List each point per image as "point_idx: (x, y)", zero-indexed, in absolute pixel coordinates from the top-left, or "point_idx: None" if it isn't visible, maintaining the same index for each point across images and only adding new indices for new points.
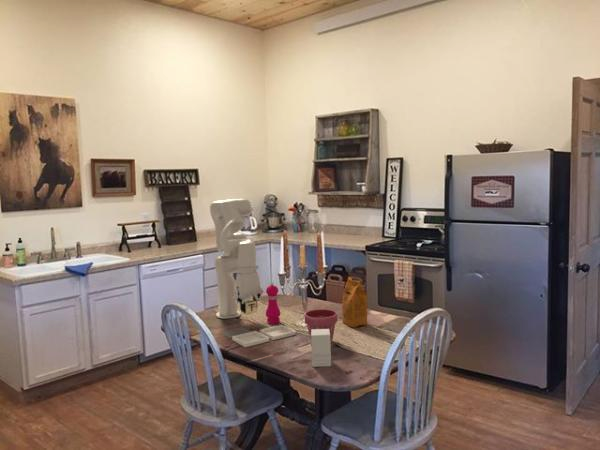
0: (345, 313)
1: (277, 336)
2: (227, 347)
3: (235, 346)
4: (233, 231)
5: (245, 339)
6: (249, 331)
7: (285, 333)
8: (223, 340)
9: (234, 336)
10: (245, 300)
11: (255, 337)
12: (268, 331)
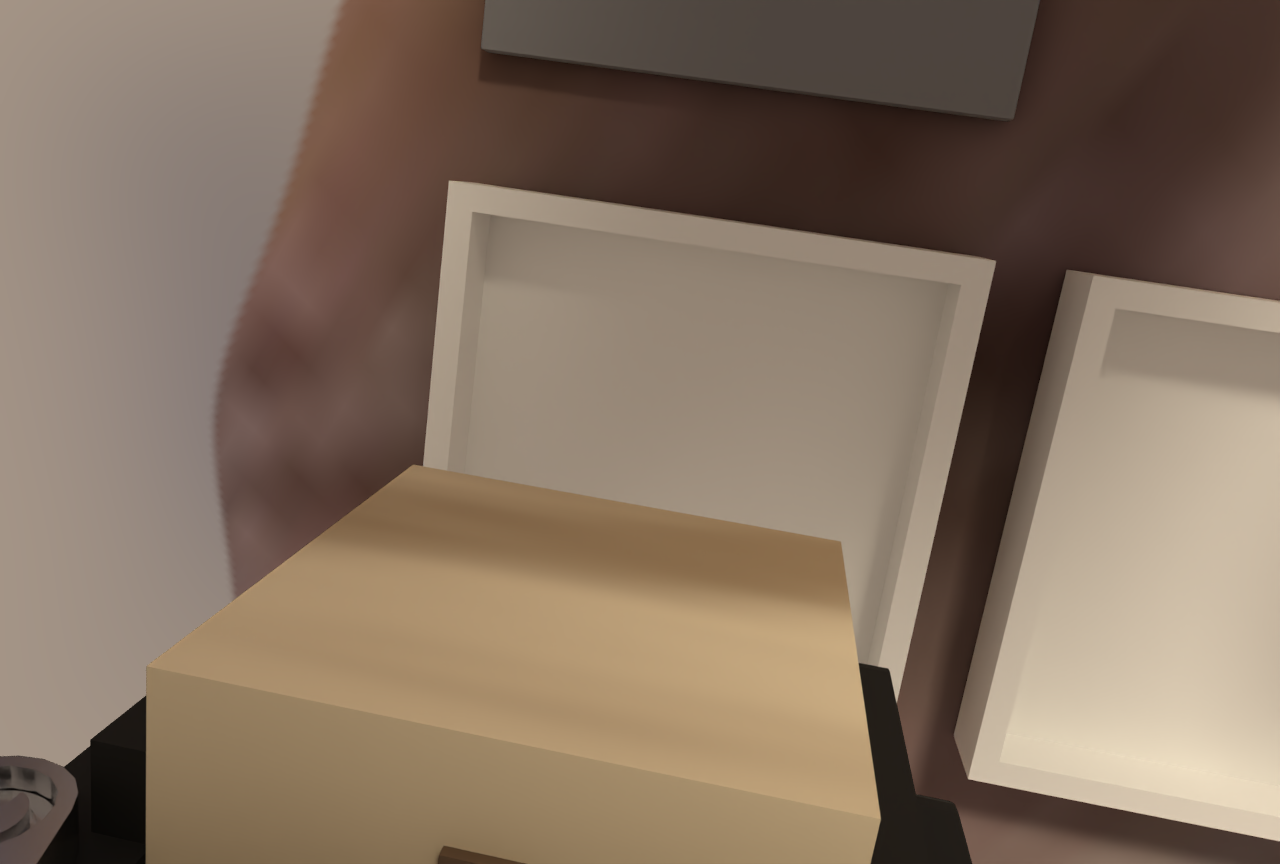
0: None
1: (1057, 789)
2: (256, 390)
3: (371, 451)
4: None
5: (645, 357)
6: (998, 29)
7: (1255, 830)
8: (374, 36)
9: (486, 211)
10: (387, 824)
11: (838, 411)
12: (1262, 331)
